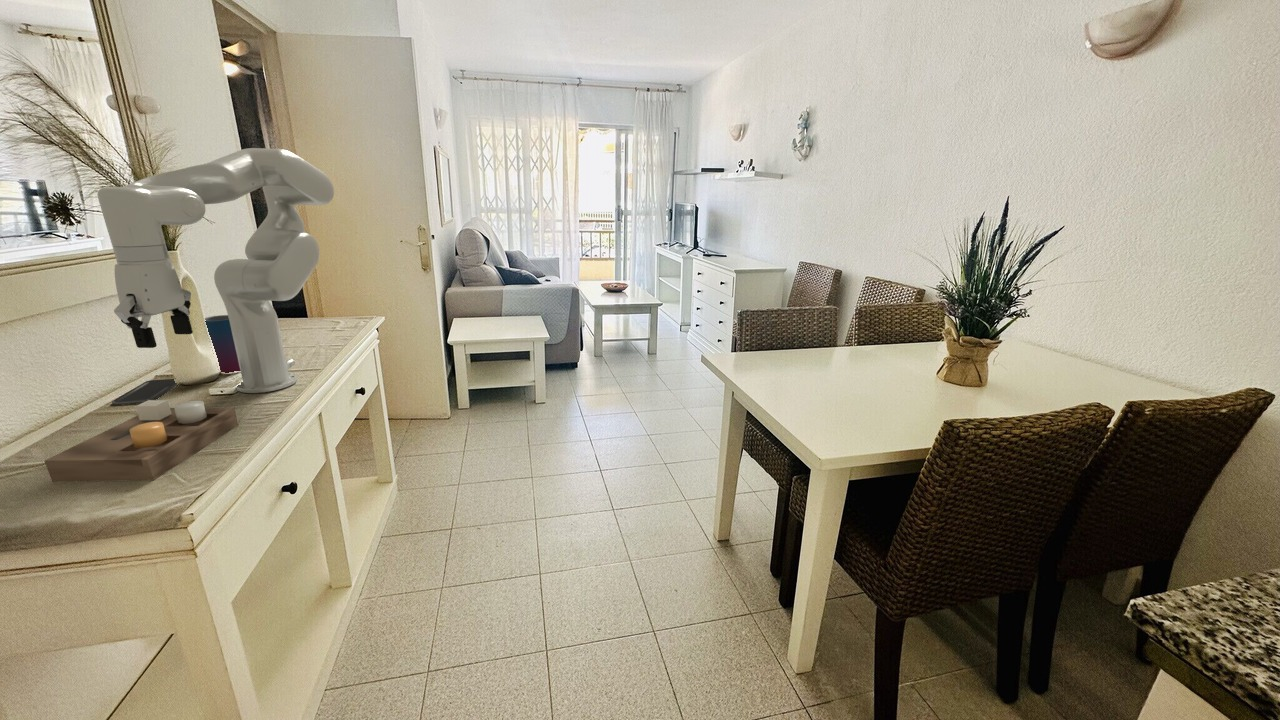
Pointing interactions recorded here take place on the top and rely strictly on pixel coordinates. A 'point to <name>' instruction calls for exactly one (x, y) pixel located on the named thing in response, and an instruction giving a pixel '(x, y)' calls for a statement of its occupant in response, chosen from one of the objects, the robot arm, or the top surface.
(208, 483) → the top surface
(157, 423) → the orange button
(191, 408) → the grey button
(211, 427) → the control panel
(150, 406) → the slider knob
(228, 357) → the cup
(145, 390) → the phone
